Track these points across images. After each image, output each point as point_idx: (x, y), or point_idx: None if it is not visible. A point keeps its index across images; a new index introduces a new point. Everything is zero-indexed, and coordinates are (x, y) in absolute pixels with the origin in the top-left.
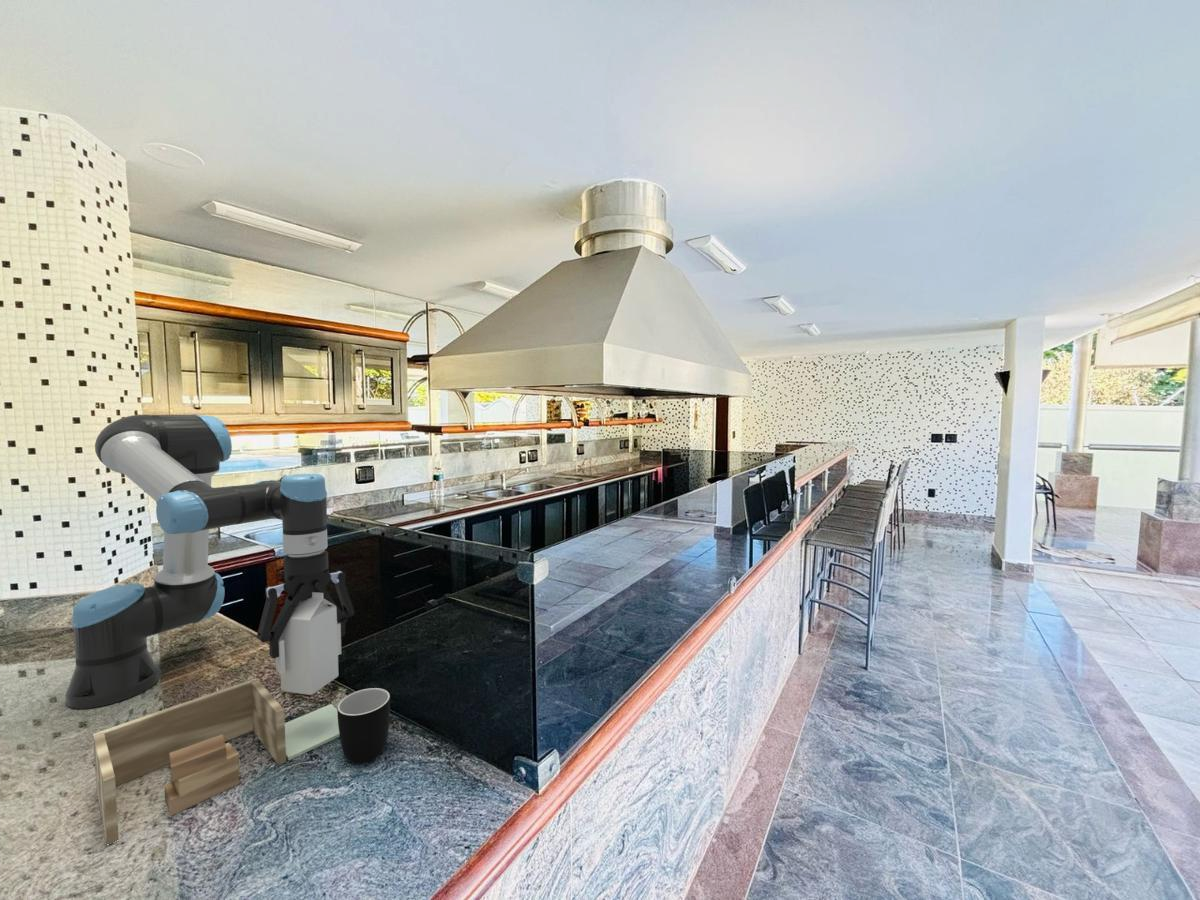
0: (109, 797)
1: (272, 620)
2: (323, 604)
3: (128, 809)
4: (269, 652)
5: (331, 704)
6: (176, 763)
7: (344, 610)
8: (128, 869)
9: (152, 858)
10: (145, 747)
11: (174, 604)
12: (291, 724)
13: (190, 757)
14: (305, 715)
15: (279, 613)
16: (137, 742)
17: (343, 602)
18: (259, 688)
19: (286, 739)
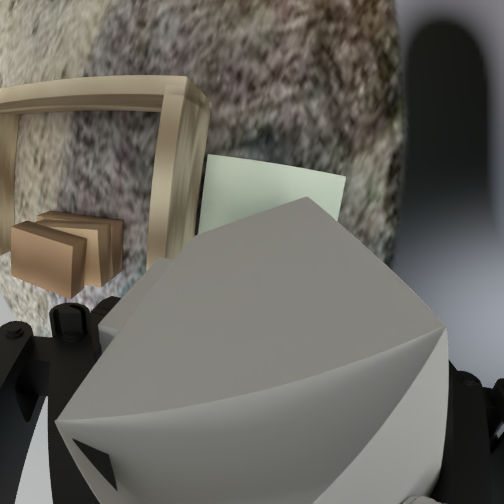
0: None
1: (19, 475)
2: None
3: (24, 189)
4: (98, 304)
5: (344, 179)
6: (16, 272)
7: (495, 409)
8: (24, 305)
9: (38, 311)
10: (23, 108)
11: None
12: (249, 176)
13: (29, 275)
14: (286, 169)
15: (49, 452)
16: (6, 108)
17: (493, 479)
18: (161, 158)
19: (215, 225)
